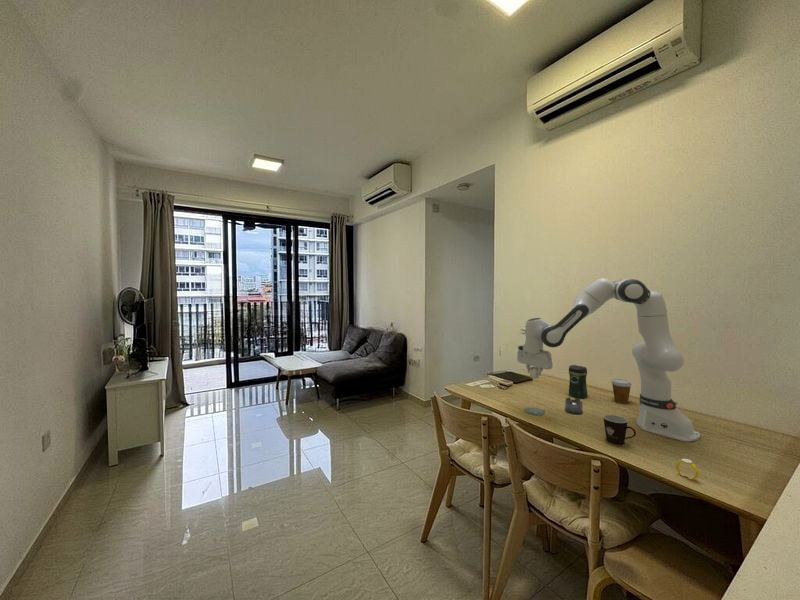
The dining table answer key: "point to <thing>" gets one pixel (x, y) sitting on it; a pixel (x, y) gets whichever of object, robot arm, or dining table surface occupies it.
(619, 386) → the disposable coffee cup
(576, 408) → the blue-gray holder
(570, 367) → the coffee jar
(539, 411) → the coaster
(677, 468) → the watch
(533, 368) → the cap
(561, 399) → the dining table surface
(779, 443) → the dining table surface
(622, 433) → the coffee mug
